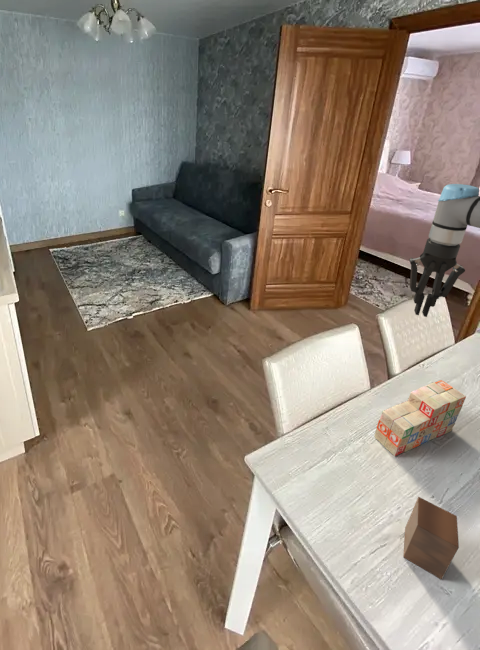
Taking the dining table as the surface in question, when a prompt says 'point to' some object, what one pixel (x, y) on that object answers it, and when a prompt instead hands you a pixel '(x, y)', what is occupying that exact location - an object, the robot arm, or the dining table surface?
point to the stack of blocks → (419, 417)
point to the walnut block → (431, 537)
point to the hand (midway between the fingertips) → (420, 313)
